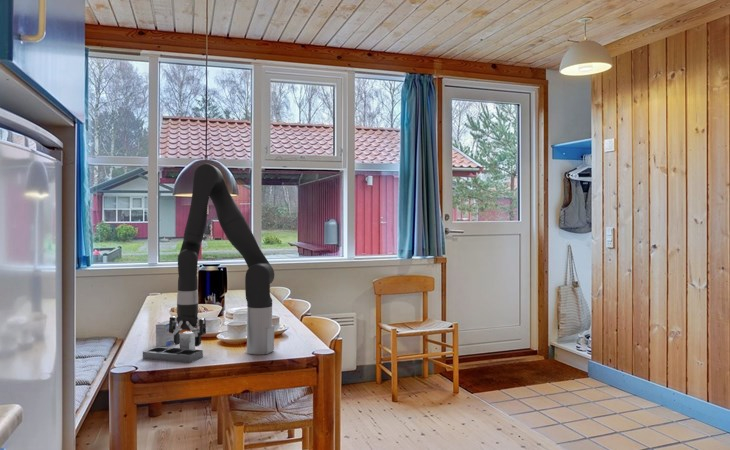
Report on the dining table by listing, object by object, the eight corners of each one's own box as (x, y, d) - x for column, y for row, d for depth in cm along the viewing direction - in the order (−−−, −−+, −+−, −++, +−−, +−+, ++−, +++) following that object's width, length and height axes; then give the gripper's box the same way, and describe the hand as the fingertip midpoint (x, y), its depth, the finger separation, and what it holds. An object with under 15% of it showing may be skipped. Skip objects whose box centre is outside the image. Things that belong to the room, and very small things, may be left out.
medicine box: (165, 347, 198) (165, 324, 198) (155, 346, 199) (155, 324, 199) (177, 342, 206) (177, 320, 206) (167, 341, 207) (167, 320, 207)
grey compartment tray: (202, 356, 185) (202, 350, 185) (189, 362, 177) (189, 356, 177) (156, 352, 190) (156, 346, 190) (142, 358, 182) (142, 351, 182)
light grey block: (195, 350, 194) (195, 332, 194) (189, 353, 190) (189, 334, 190) (185, 349, 195) (185, 331, 195) (179, 352, 191) (179, 333, 191)
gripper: (210, 301, 194) (209, 344, 194) (177, 299, 198) (176, 341, 198) (198, 304, 187) (198, 349, 187) (164, 302, 190) (164, 346, 191)
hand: (187, 345), depth 192 cm, fingers open, 8 cm apart
